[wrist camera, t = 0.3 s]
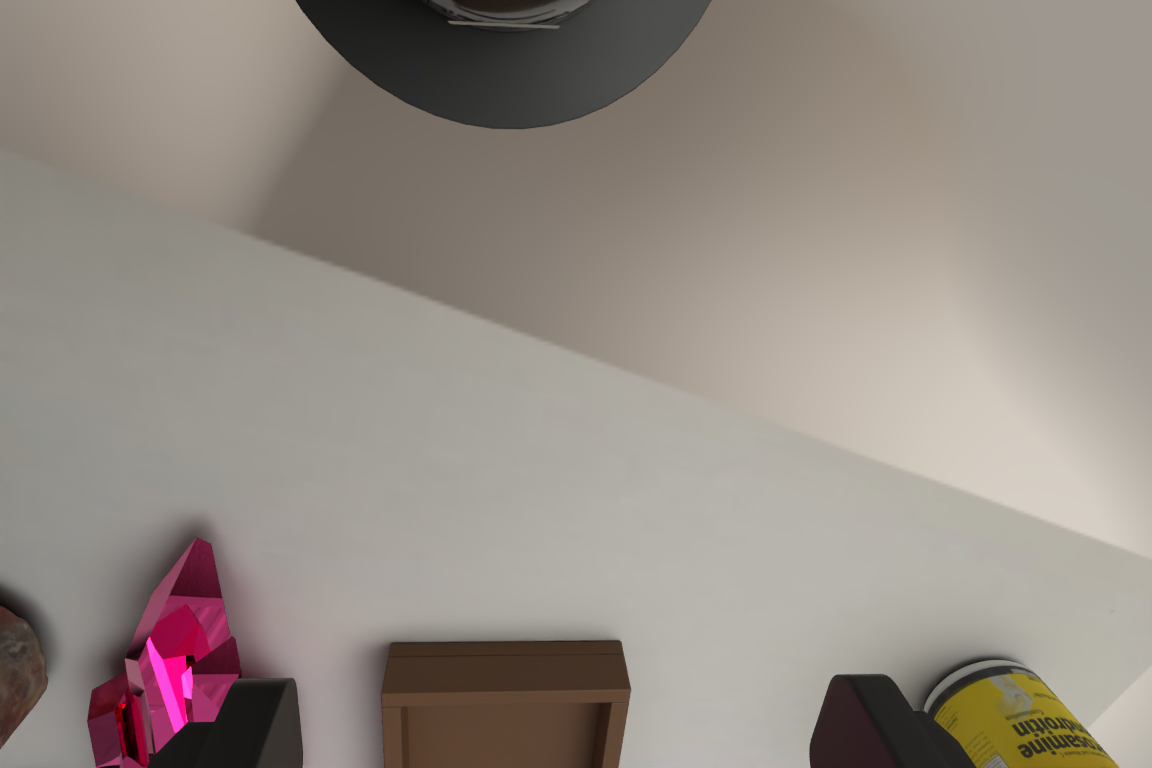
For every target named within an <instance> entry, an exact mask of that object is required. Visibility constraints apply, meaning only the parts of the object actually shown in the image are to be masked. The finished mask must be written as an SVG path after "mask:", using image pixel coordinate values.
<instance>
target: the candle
mask: <svg viewBox="0 0 1152 768" xmlns="http://www.w3.org/2000/svg"><path fill="white" fill-rule="evenodd" d="M47 684H48V678H47V676H46V664H45V659H44V654H43V651H42V649H41V646H40V642H39V640H38V638H37V636H36V635H35V633H34V631H33V630H32V628H31V627H30V625H29V624H28V623H27V621H26V620H24V619H22V618H19V617H17V616H15V615H14V613H12V612H11V611H9V610H8V609H6V608H4V607H1V606H0V749H1V748H2V746H3V745H4V744H5V742H6V741H7V740H8V738H9V737H10V736H11V734H12V733H13V732H14V731H15V729H16V728H17V727H18V726H19V725H20V723H21V722H22V721H23V720H24V718H25V717H26V716H27V715H28V713H29V712H30V711H31V710H32V709H33V707H34V706H35V705H36V703H37V702H38V700H39V699H40V698H41V696H42V695H43V693H44V692H45V690H46V688H47Z"/></svg>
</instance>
